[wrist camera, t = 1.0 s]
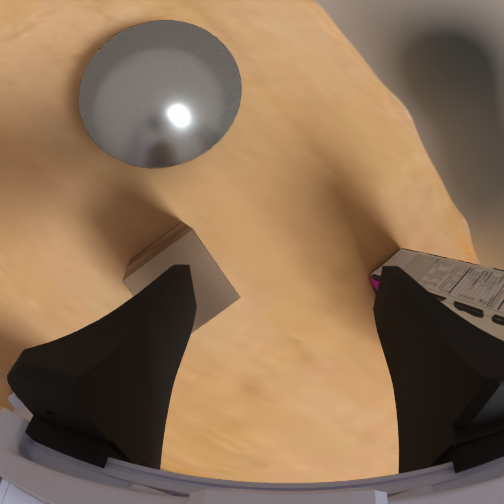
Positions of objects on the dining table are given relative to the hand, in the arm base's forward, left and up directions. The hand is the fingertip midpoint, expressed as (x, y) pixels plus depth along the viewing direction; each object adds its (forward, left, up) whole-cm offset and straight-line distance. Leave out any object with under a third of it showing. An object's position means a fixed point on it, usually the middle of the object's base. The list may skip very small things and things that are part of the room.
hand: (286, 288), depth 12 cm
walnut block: (-3, +1, -12) cm, 12 cm away
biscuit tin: (+2, +11, -12) cm, 16 cm away
